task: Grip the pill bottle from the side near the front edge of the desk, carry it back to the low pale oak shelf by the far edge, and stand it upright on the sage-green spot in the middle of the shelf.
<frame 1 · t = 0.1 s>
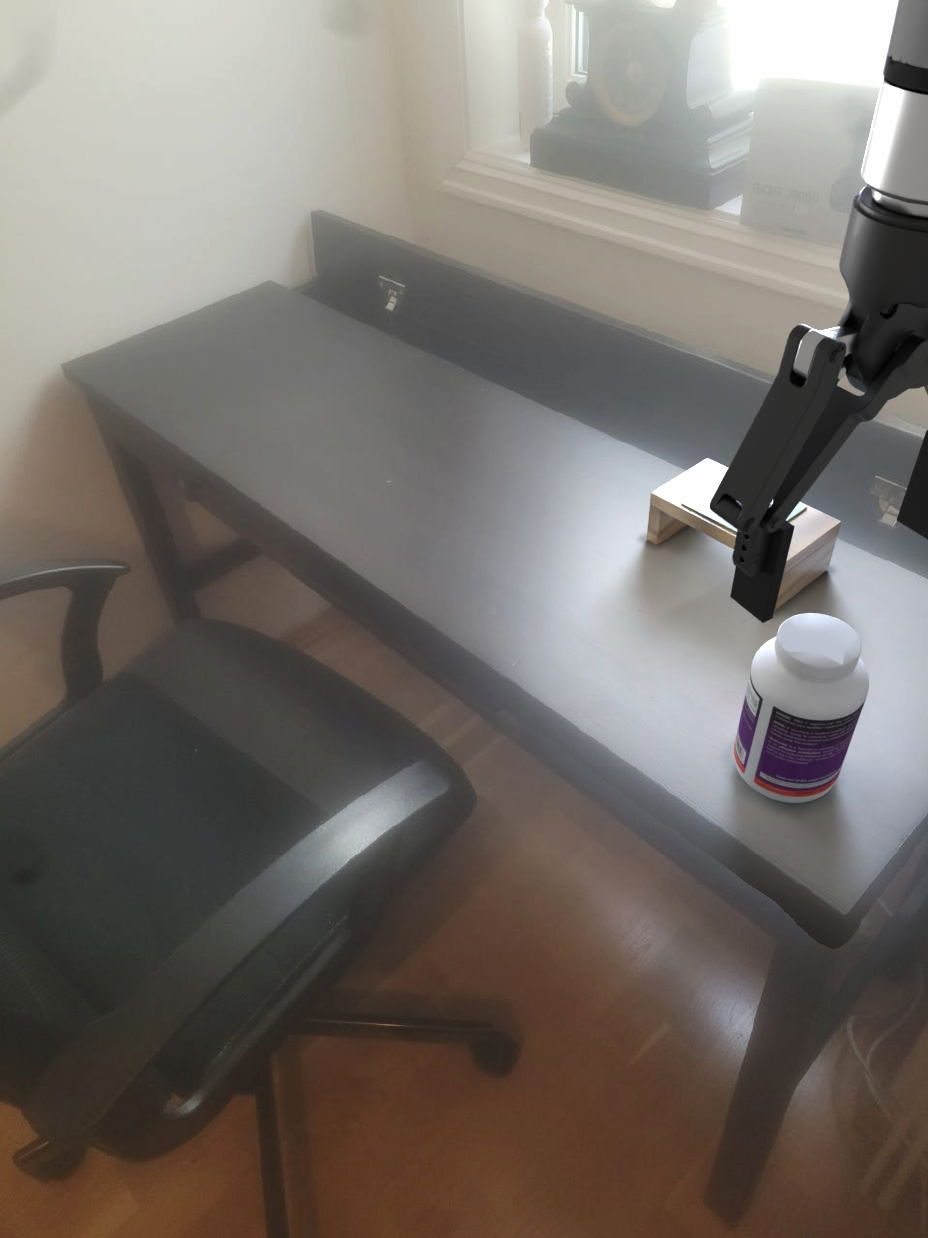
hand: (837, 567, 52), 23 cm above the table, tool pointing down, fingers open, 13 cm apart
shelf: (734, 553, 89), on the table
pill bottle: (782, 768, 70), on the table
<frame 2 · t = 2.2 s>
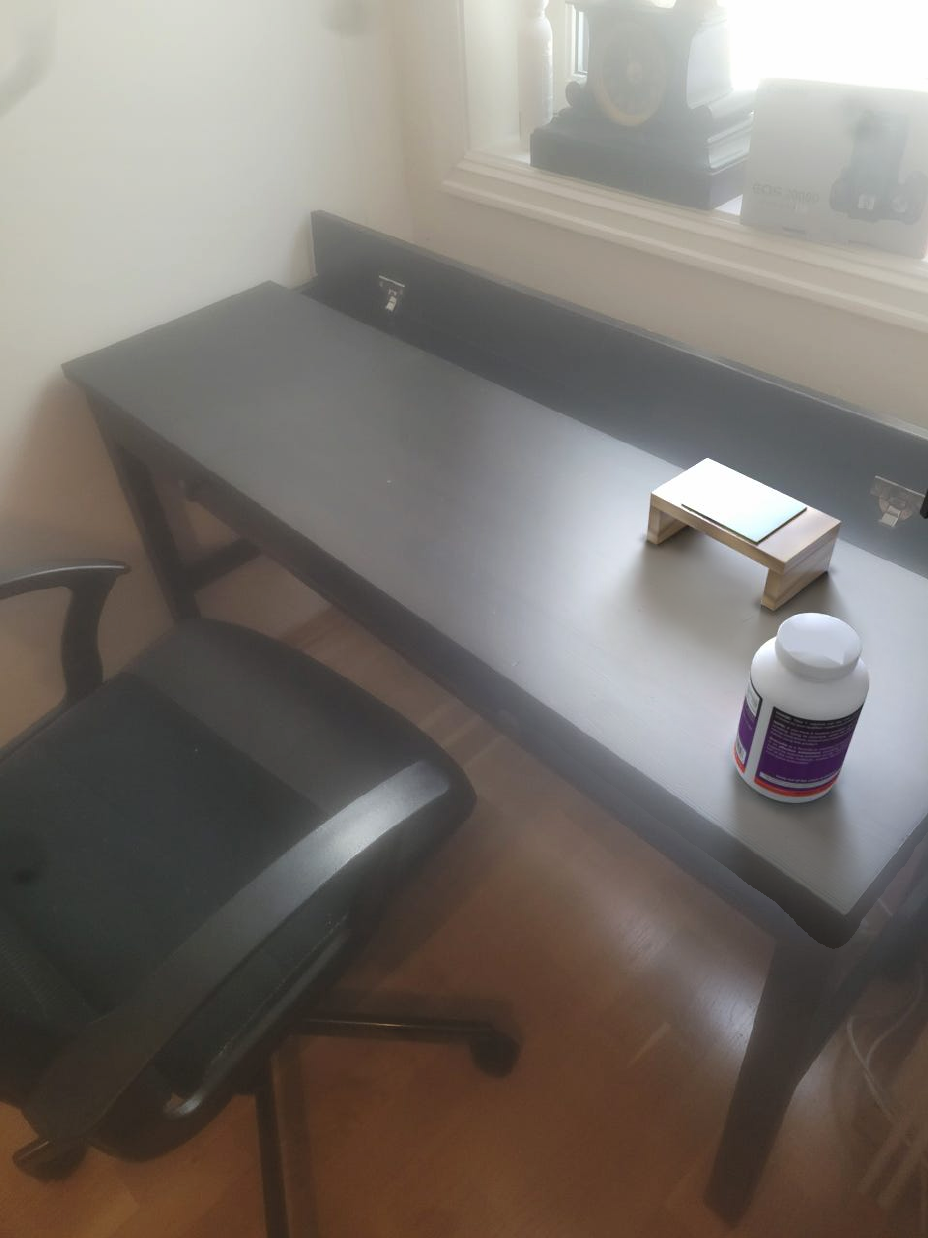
nothing on the table moved.
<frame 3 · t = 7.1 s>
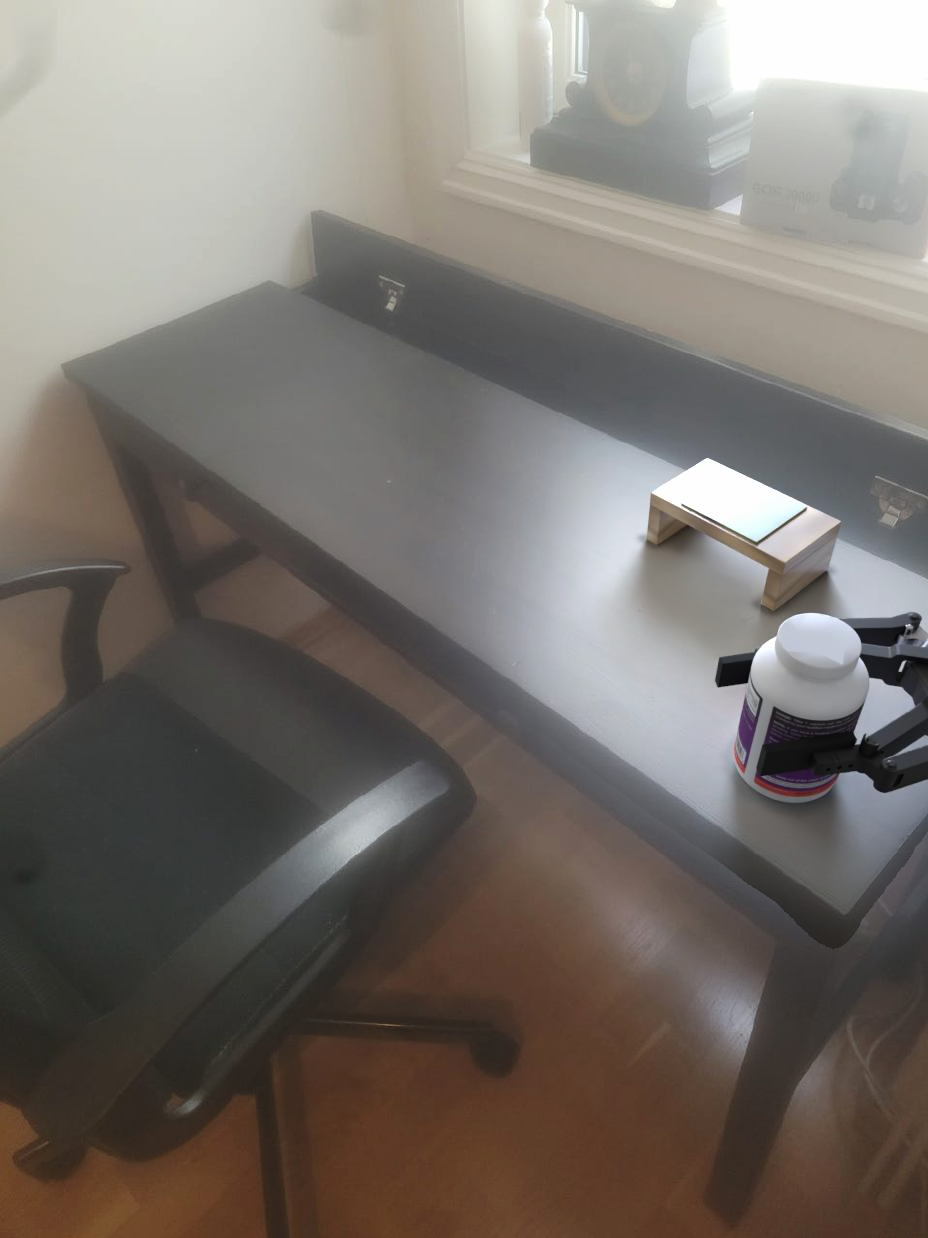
hand: (739, 714, 64), 8 cm above the table, tool horizontal, fingers closed on pill bottle, 8 cm apart
pill bottle: (782, 768, 70), on the table, touching gripper
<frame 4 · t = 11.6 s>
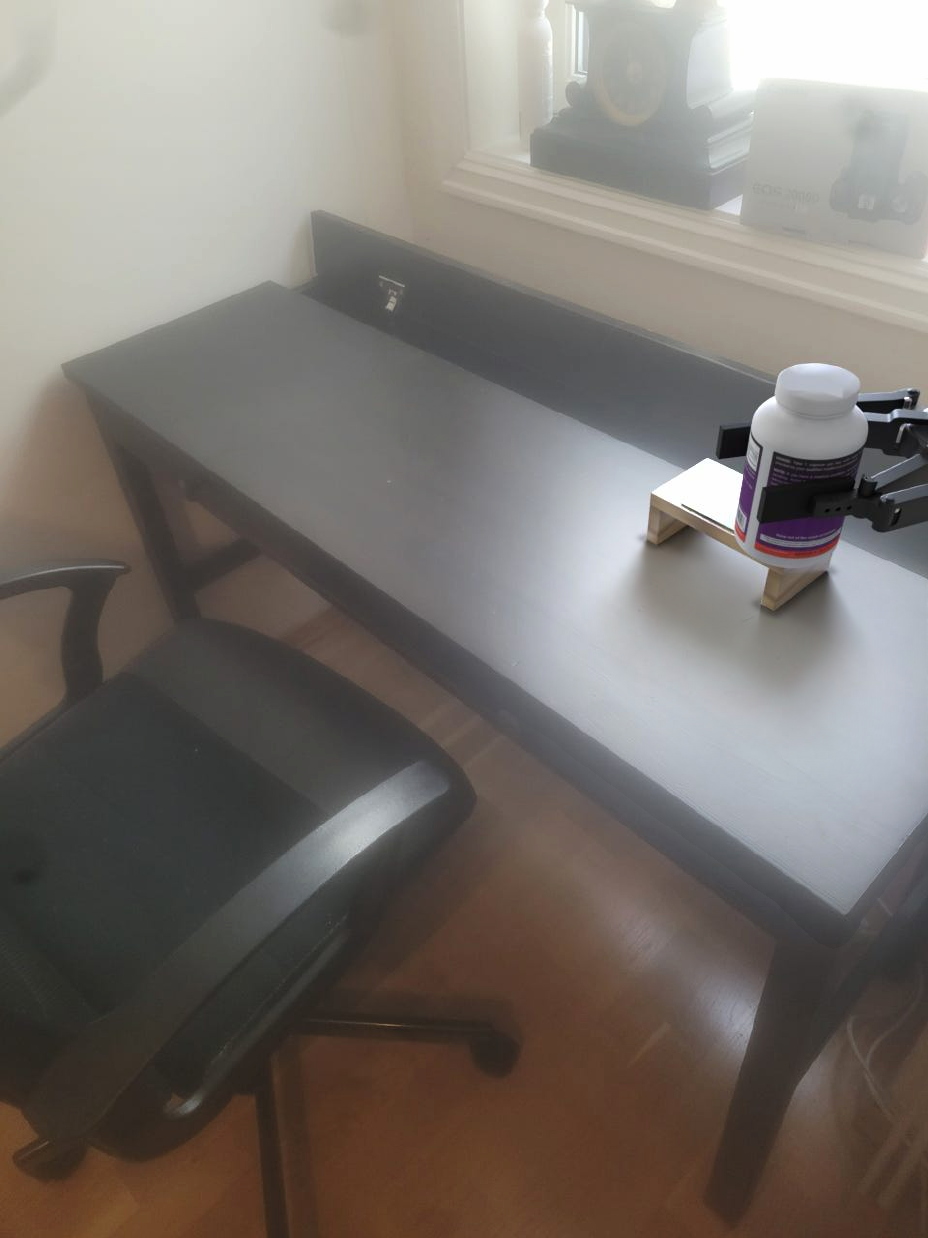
hand: (739, 472, 65), 20 cm above the table, tool horizontal, fingers closed on pill bottle, 8 cm apart
pill bottle: (782, 544, 71), point 12 cm above the table, touching gripper
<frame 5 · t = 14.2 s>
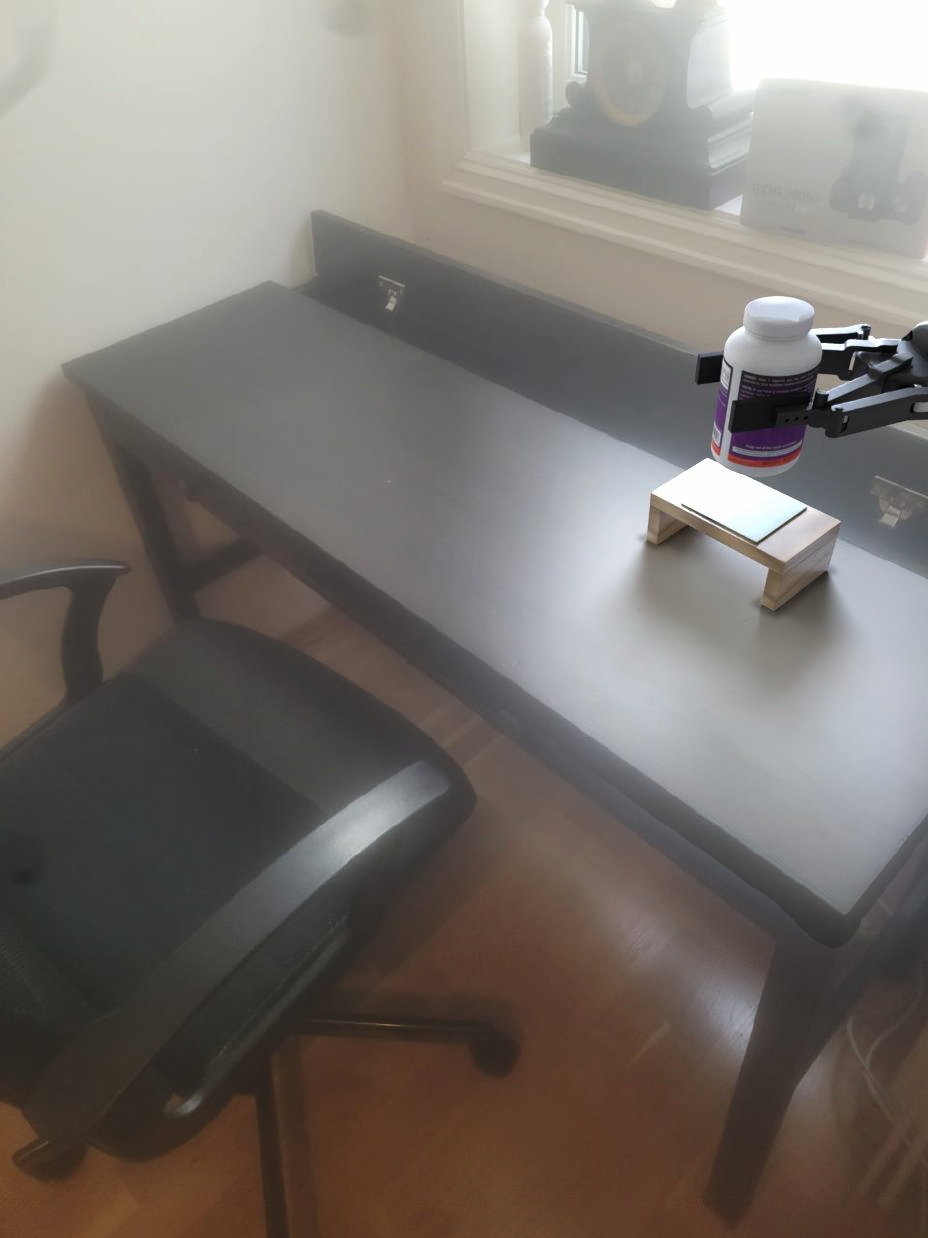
hand: (714, 392, 76), 19 cm above the table, tool horizontal, fingers closed on pill bottle, 8 cm apart
pill bottle: (752, 459, 82), point 11 cm above the table, touching gripper
when the fingers open (14 cm above the table, at t = 16.2 s): pill bottle stays where it is, resting on shelf.
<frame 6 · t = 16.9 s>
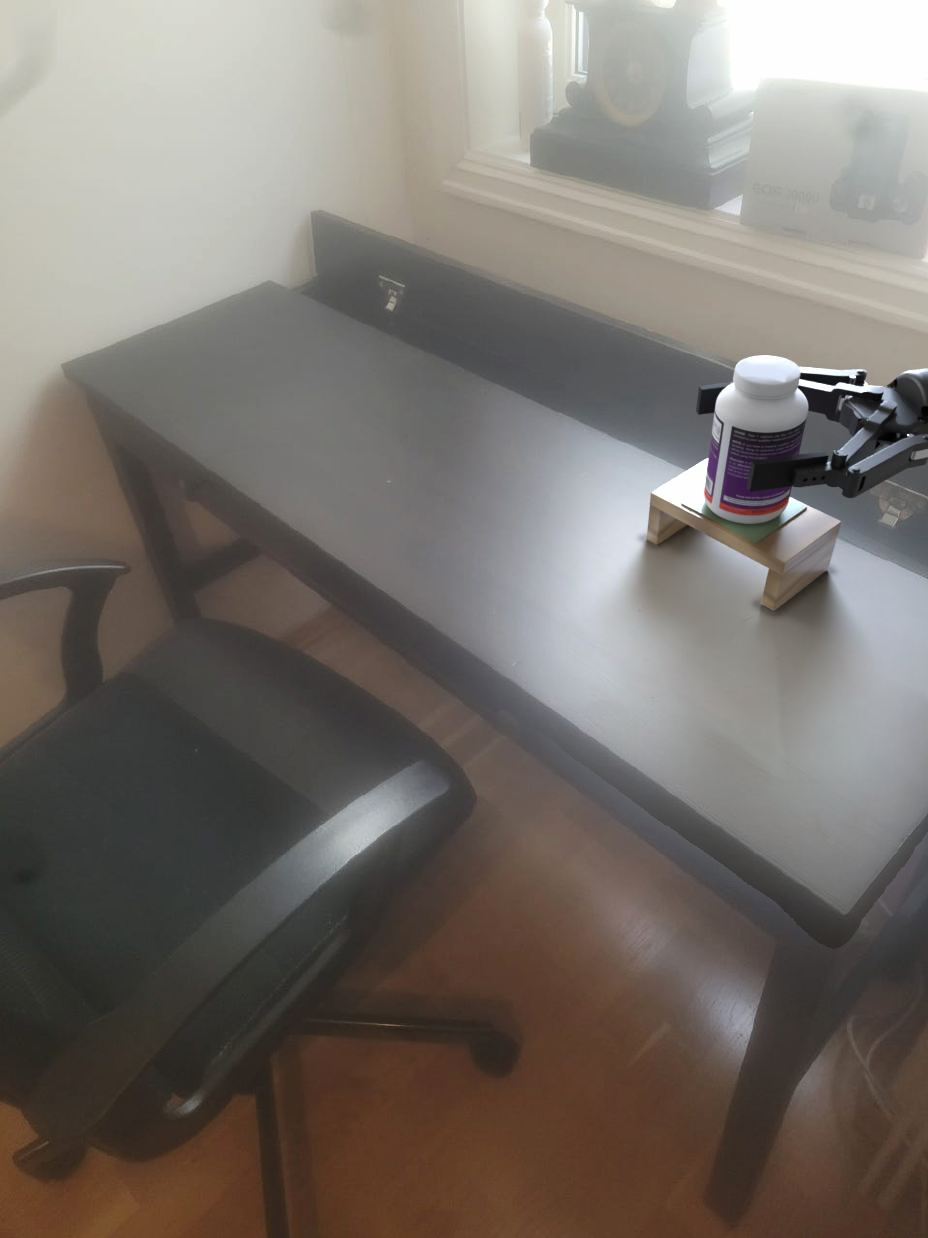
hand: (722, 436, 80), 14 cm above the table, tool horizontal, fingers open, 13 cm apart
pill bottle: (743, 506, 85), point 6 cm above the table, touching shelf
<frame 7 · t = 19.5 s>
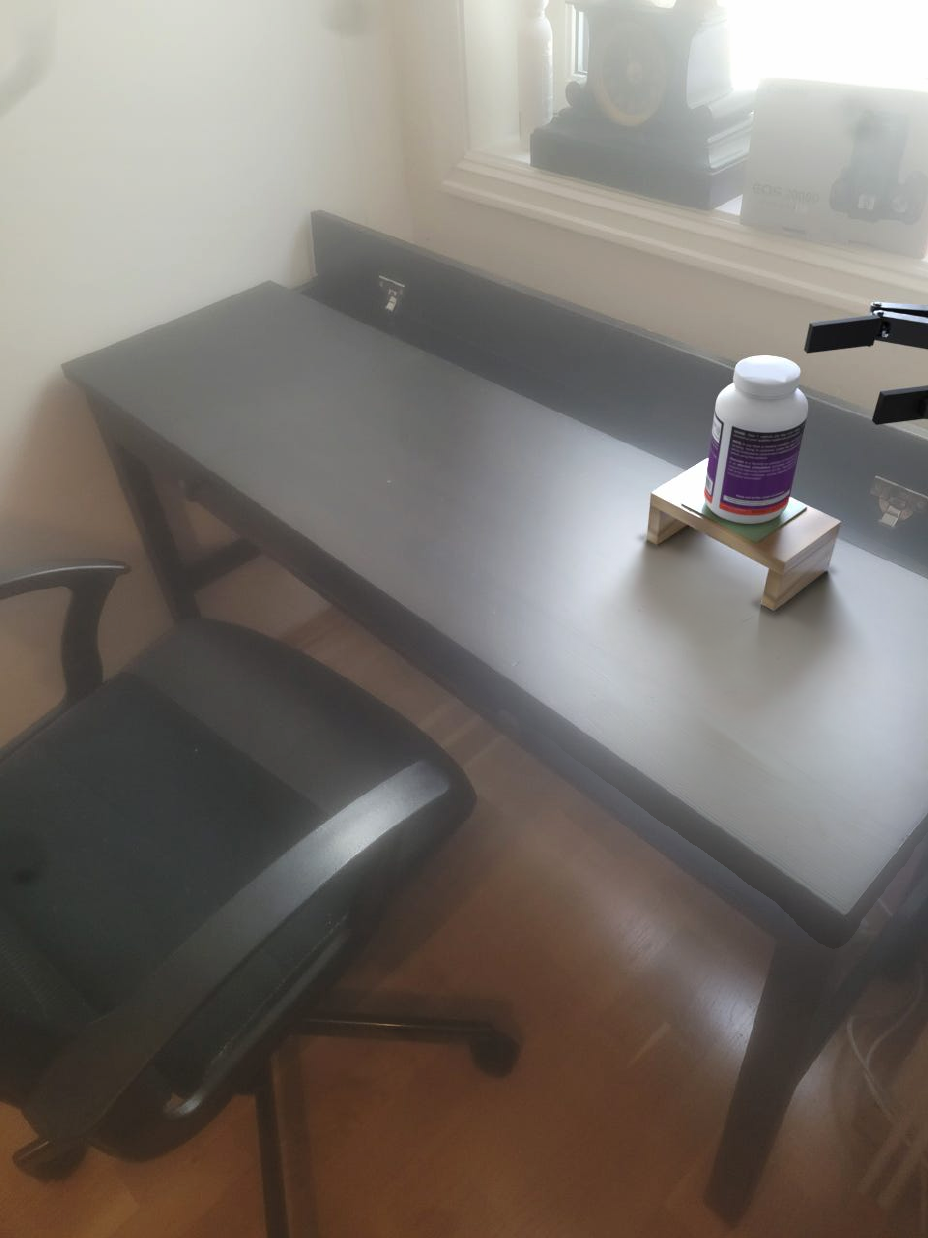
hand: (840, 370, 76), 20 cm above the table, tool horizontal, fingers open, 13 cm apart
nothing on the table moved.
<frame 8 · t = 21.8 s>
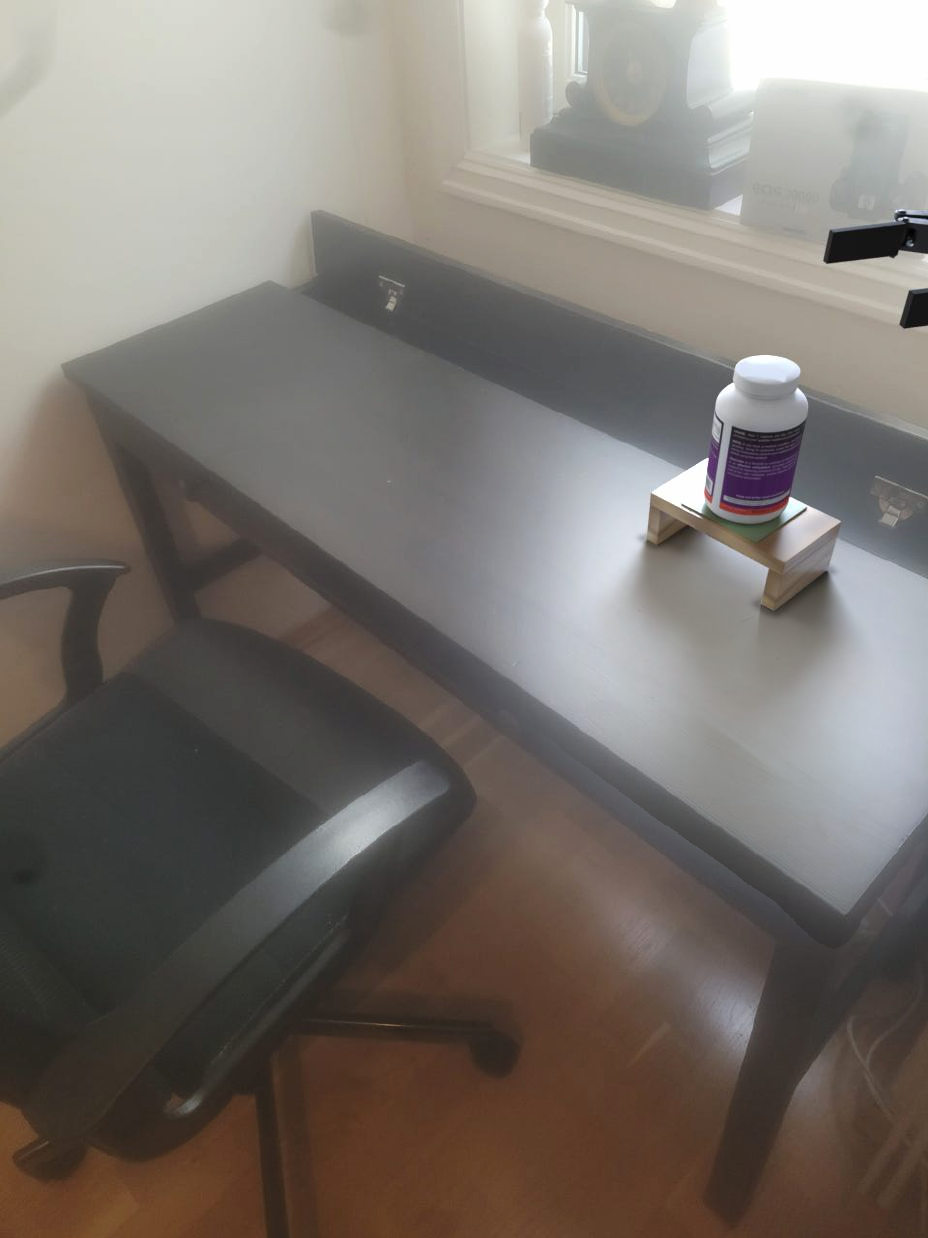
hand: (863, 276, 71), 28 cm above the table, tool horizontal, fingers open, 13 cm apart
nothing on the table moved.
at the end: pill bottle inside the target area on the shelf (0.0 cm from its centre), point 6.0 cm above the shelf's base; pill bottle tilted 0°; the gripper is holding nothing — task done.
